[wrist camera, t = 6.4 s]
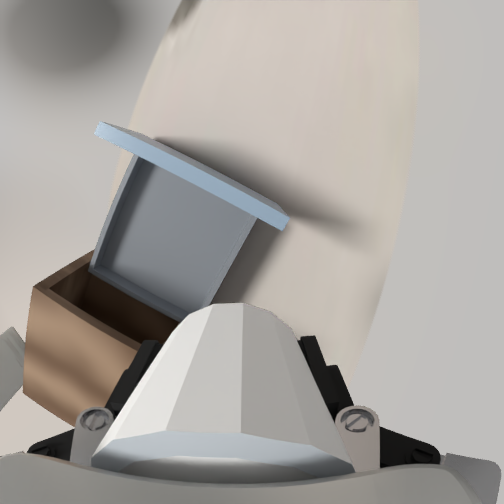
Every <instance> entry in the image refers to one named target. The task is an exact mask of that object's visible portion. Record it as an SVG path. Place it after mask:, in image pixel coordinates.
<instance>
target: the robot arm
mask: <svg viewBox="0 0 504 504" xmlns="http://www.w3.org/2000/svg"><path fill="white" fill-rule="evenodd" d="M297 342H298V344H299V346H300V349H301V351H302V353H303V355H304V357H305V360H306V362H307V364H308V366H309V368H310V371H311V373H312V375H313V378H314V380H315V382H316V384H317V387H318V389H319V391H320V393H321V395H322V398H323V400H324V402H325V404H326V406H327V408H328V410H329V412H330V414H331V417H332V419H333V421H334V423H335V426H336V428H337V431H338V433H339V435H340V437H341V440H342V442H343V444H344V446H345V449H346V451H347V453H348V455H349V457H350V460H351V462H352V464H353V466H354V469H355V471H356V473H351V474H345V475H339V476H332V477H325V478H317V479H309V480H300V481H290V482H276V483H254V484H217V483H196V482H183V481H172V480H163V479H155V478H148V477H141V476H135V475H129V474H123V473H118V472H113V471H108V470H104V469H99V468H95V467H91V457H92V456H93V454H94V452H95V451H96V449H97V448H98V446H99V444H100V443H101V441H102V440H103V438H104V436H105V435H106V433H107V432H108V430H109V429H110V427H111V425H112V424H113V422H114V421H115V419H116V418H117V416H118V414H119V413H120V411H121V410H122V408H123V407H124V405H125V404H126V402H127V400H128V399H129V397H130V396H131V394H132V393H133V391H134V390H135V388H136V387H137V385H138V383H139V382H140V380H141V379H142V377H143V376H144V374H145V373H146V371H147V370H148V368H149V367H150V365H151V364H152V362H153V361H154V359H155V358H156V356H157V354H158V353H159V351H160V350H161V348H162V347H163V344H159V341H158V340H144V341H143V343H142V345H141V346H140V348H139V350H138V352H137V354H136V355H135V357H134V359H133V361H132V363H131V364H130V366H129V368H128V369H126V370H124V372H123V373H122V375H121V377H120V379H119V381H118V383H117V384H116V386H115V388H114V390H113V392H112V394H111V395H110V397H109V399H108V401H107V403H106V405H105V407H90V408H88V409H85V410H84V411H82V412H81V413H80V414H79V415H78V417H77V419H76V424H75V429H72V430H70V431H67V432H64V433H62V434H59V435H56V436H54V437H51V438H48V439H45V440H43V441H40V442H37V443H35V444H33V445H32V446H31V447H30V448H29V450H28V451H27V453H24V452H23V451H22V452H18V453H13V454H8V455H4V456H0V504H496V501H497V496H498V491H499V486H500V480H501V470H500V468H499V466H498V465H497V464H496V463H495V462H492V461H488V460H481V459H475V458H470V457H465V456H460V455H455V454H450V453H447V454H446V456H444V455H440V453H439V451H438V450H437V449H436V448H435V447H434V446H432V445H430V444H428V443H425V442H422V441H419V440H416V439H413V438H410V437H407V436H404V435H402V434H399V433H396V432H393V431H391V430H388V429H385V428H383V427H380V426H379V418H378V415H377V414H376V413H375V412H374V411H373V410H371V409H370V408H367V407H365V406H354V404H353V401H352V399H351V397H350V394H349V392H348V389H347V387H346V384H345V382H344V380H343V377H342V375H341V373H340V370H339V368H338V366H337V365H330V366H326V363H325V361H324V358H323V355H322V353H321V350H320V347H319V345H318V342H317V339H316V337H315V336H302V337H301V339H300V340H297Z"/></svg>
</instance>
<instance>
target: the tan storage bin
mask: <svg viewBox="0 0 504 504" xmlns="http://www.w3.org/2000/svg"><path fill="white" fill-rule="evenodd" d="M94 251H95V249H94V250H93V251H91V252H89V253H87V254H85V255H84V256H82V257H80V258H79V259H77V260H75V261H74V262H72V263H70V264H69V265H67V266H65V267H64V268H62V269H60V270H59V271H57V272H55V273H54V274H52V275H51V276H49V277H47V278H46V279H44V280H43V281H41V282H39V283H38V284H36V285H35V286H33V290H32V296H31V302H30V308H29V316H28V324H27V332H26V342H25V354H24V370H23V393H24V394H25V395H27V396H28V397H29V398H31V399H32V400H33V401H35V402H36V403H38V404H39V405H41V406H42V407H44V408H45V409H47V410H48V411H50V412H51V413H53V414H54V415H56V416H57V417H59V418H61V419H62V420H64V421H65V422H67V423H69V424H70V425H72V426H74V427H75V424H76V419H77V417H78V415H79V414H80V413H81V412H82V411H84V410H85V409H88V408H90V407H105V405H106V403H107V401H108V399H109V397H110V395H111V394H112V392H113V390H114V388H115V386H116V384H117V383H118V381H119V379H120V377H121V375H122V373H123V372H124V370H126V369H128V368H129V366H130V364H131V363H132V361H133V359H134V357H135V355H136V354H137V352H138V350H139V348H140V346H141V345H142V343H143V341H144V340H158V341H159V344H163V345H164V344H165V342H166V341H167V339H168V338H169V336H170V335H171V333H172V332H173V331H174V330H175V329H176V328H177V327H178V325H179V324H180V322H178V321H176V320H174V319H172V318H170V317H168V316H166V315H165V314H163V313H161V312H159V311H157V310H155V309H153V308H151V307H149V306H148V305H146V304H144V303H142V302H140V301H138V300H137V299H135V298H133V297H131V296H129V295H128V294H126V293H124V292H122V291H121V290H119V289H117V288H115V287H114V286H112V285H110V284H108V283H107V282H105V281H103V280H102V279H100V278H98V277H97V276H95V275H93V274H92V273H90V272H88V269H89V266H90V262H91V259H92V256H93V254H94Z"/></svg>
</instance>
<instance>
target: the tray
mask: <svg viewBox="0 0 504 504" xmlns="http://www.w3.org/2000/svg"><path fill="white" fill-rule="evenodd" d="M94 134H95V135H97V136H98V137H101V138H103V139H105V140H107V141H109V142H111V143H113V144H115V145H117V146H119V147H121V148H123V149H125V150H127V151H129V152H131V153H133V154H134V155H133V157H132V160H131V162H130V164H129V166H128V168H127V170H126V173H125V175H124V177H123V179H122V182H121V184H120V186H119V188H118V191H117V193H116V196H115V198H114V200H113V203H112V205H111V208H110V210H109V213H108V215H107V218H106V220H105V223H104V226H103V228H102V231H101V234H100V237H99V239H98V242H97V245H96V248H95V251H94V254H93V256H92V259H91V262H90V266H89V269H88V272H90V273H92V274H93V275H95V276H97V277H98V278H100V279H102V280H103V281H105V282H107V283H108V284H110V285H112V286H114V287H115V288H117V289H119V290H121V291H122V292H124V293H126V294H128V295H129V296H131V297H133V298H135V299H137V300H138V301H140V302H142V303H144V304H146V305H148V306H149V307H151V308H153V309H155V310H157V311H159V312H161V313H163V314H165V315H166V316H168V317H170V318H172V319H174V320H176V321H178V322H180V323H181V322H182V321H183V320H184V319H185V318H186V317H187V316H188V315H189V314H191V313H193V312H196V311H198V310H200V309H203V308H205V307H208V306H209V305H210V303H211V301H212V299H213V297H214V295H215V294H216V292H217V290H218V288H219V286H220V285H221V283H222V281H223V279H224V277H225V275H226V274H227V272H228V270H229V268H230V266H231V265H232V263H233V261H234V259H235V257H236V256H237V254H238V252H239V250H240V248H241V247H242V245H243V243H244V241H245V239H246V238H247V236H248V234H249V232H250V230H251V229H252V227H253V225H254V223H255V221H256V220H257V218H259V219H261V220H262V221H264V222H266V223H268V224H270V225H272V226H273V227H275V228H277V229H279V230H281V231H283V229H284V228H285V226H286V224H287V222H288V221H289V219H290V217H289V216H288V215H287V214H286V213H285V212H284V211H283V209H282V208H281V207H280V206H279V205H278V204H277V203H275V202H273V201H272V200H270V199H268V198H266V197H264V196H262V195H261V194H259V193H257V192H255V191H253V190H251V189H250V188H248V187H246V186H244V185H242V184H240V183H238V182H236V181H235V180H233V179H231V178H229V177H227V176H225V175H223V174H221V173H219V172H217V171H216V170H214V169H212V168H210V167H208V166H206V165H204V164H202V163H200V162H198V161H196V160H194V159H192V158H190V157H188V156H186V155H184V154H182V153H180V152H178V151H176V150H174V149H172V148H170V147H168V146H166V145H164V144H162V143H160V142H158V141H155V140H153V139H151V138H149V137H147V136H145V135H143V134H141V133H138V132H134V131H131V130H128V129H125V128H121V127H118V126H115V125H111V124H108V123H105V122H101V121H100V122H99V124H98V126H97V129H96V131H95V133H94Z"/></svg>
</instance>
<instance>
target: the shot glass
mask: <svg viewBox="0 0 504 504" xmlns="http://www.w3.org/2000/svg"><path fill="white" fill-rule="evenodd" d="M91 467H95V468H99V469H104V470H108V471H113V472H118V473H123V474H129V475H135V476H141V477H148V478H155V479H163V480H172V481H183V482H196V483H217V484H254V483H276V482H290V481H300V480H309V479H317V478H325V477H332V476H339V475H345V474H351V473H356V471H355V469H354V466H353V464H352V462H351V460H350V457H349V455H348V453H347V451H346V449H345V446H344V444H343V442H342V440H341V437H340V435H339V433H338V431H337V428H336V426H335V423H334V421H333V419H332V417H331V414H330V412H329V410H328V408H327V406H326V404H325V402H324V400H323V398H322V395H321V393H320V391H319V389H318V387H317V384H316V382H315V380H314V378H313V375H312V373H311V371H310V368H309V366H308V364H307V362H306V360H305V357H304V355H303V353H302V351H301V349H300V346H299V344H298V342H297V339H296V337H295V335H294V333H293V331H292V329H291V328H290V327H289V326H288V325H287V324H286V323H284V322H283V321H282V320H281V319H279V318H278V317H277V316H276V315H274V314H273V313H272V312H271V311H267V310H264V309H261V308H258V307H255V306H252V305H249V304H245V303H224V304H212V305H210V306H208V307H205V308H203V309H200V310H198V311H196V312H193V313H191V314H189V315H188V316H187V317H186V318H185V319H184V320H183V321H182V322H181V323H180V324H179V325H178V327H177V328H176V329H175V330H174V331H173V332H172V333H171V335H170V336H169V338H168V339H167V341H166V342H165V344H164V345H163V347H162V348H161V350H160V351H159V353H158V354H157V356H156V358H155V359H154V361H153V362H152V364H151V365H150V367H149V368H148V370H147V371H146V373H145V374H144V376H143V377H142V379H141V380H140V382H139V383H138V385H137V387H136V388H135V390H134V391H133V393H132V394H131V396H130V397H129V399H128V400H127V402H126V404H125V405H124V407H123V408H122V410H121V411H120V413H119V414H118V416H117V418H116V419H115V421H114V422H113V424H112V425H111V427H110V429H109V430H108V432H107V433H106V435H105V436H104V438H103V440H102V441H101V443H100V444H99V446H98V448H97V449H96V451H95V452H94V454H93V456H92V457H91Z"/></svg>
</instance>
